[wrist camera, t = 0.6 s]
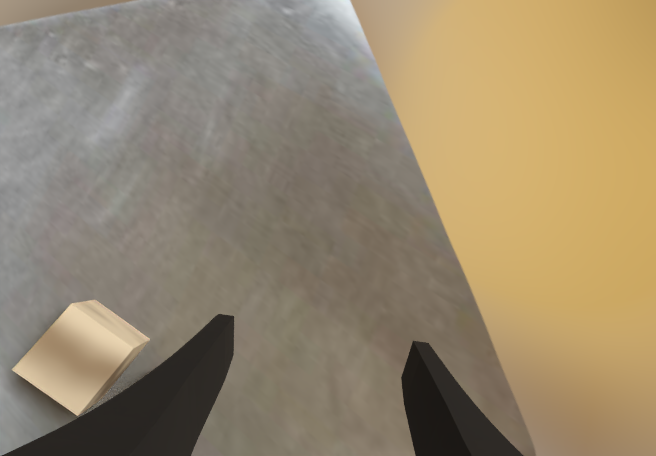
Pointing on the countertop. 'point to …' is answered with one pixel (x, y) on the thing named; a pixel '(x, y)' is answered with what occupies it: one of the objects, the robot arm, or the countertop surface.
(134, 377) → the countertop surface
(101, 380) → the maple block
